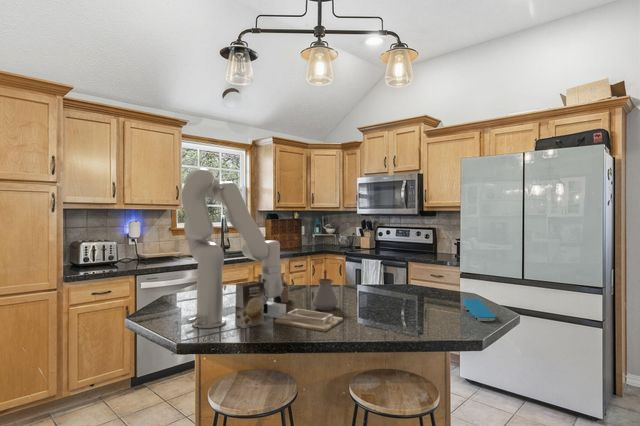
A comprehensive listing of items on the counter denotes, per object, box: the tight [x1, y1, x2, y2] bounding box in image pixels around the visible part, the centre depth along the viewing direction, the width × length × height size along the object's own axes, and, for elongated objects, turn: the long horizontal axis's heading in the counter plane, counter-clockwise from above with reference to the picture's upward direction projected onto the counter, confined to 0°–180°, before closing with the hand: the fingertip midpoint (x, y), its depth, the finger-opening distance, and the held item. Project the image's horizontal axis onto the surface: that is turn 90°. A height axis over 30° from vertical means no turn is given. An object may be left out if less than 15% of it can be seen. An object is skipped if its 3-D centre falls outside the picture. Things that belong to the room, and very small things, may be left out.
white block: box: [263, 300, 287, 319], centre depth 159 cm, size 4×13×5 cm, turn 58°
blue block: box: [462, 298, 497, 319], centre depth 161 cm, size 7×7×18 cm
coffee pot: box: [312, 269, 339, 311], centre depth 175 cm, size 21×12×15 cm, turn 179°
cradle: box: [274, 307, 343, 332], centre depth 150 cm, size 16×22×3 cm
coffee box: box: [234, 280, 264, 329], centre depth 146 cm, size 9×6×16 cm
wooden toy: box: [257, 261, 290, 304], centre depth 183 cm, size 16×7×25 cm, turn 87°
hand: (271, 310), depth 159 cm, fingers open, 9 cm apart
